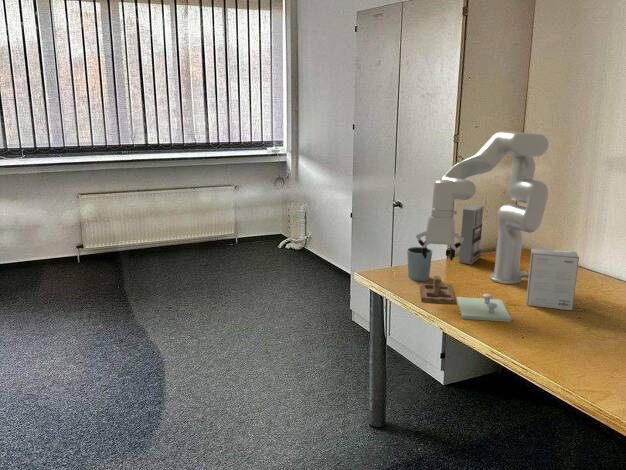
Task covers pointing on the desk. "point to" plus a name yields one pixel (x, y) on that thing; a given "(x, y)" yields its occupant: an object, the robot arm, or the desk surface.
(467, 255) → the tall grey labeled box
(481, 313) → the board
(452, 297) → the brown wooden puzzle block
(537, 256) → the hard drive box
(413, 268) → the blue-grey cup
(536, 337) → the desk surface
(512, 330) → the desk surface
